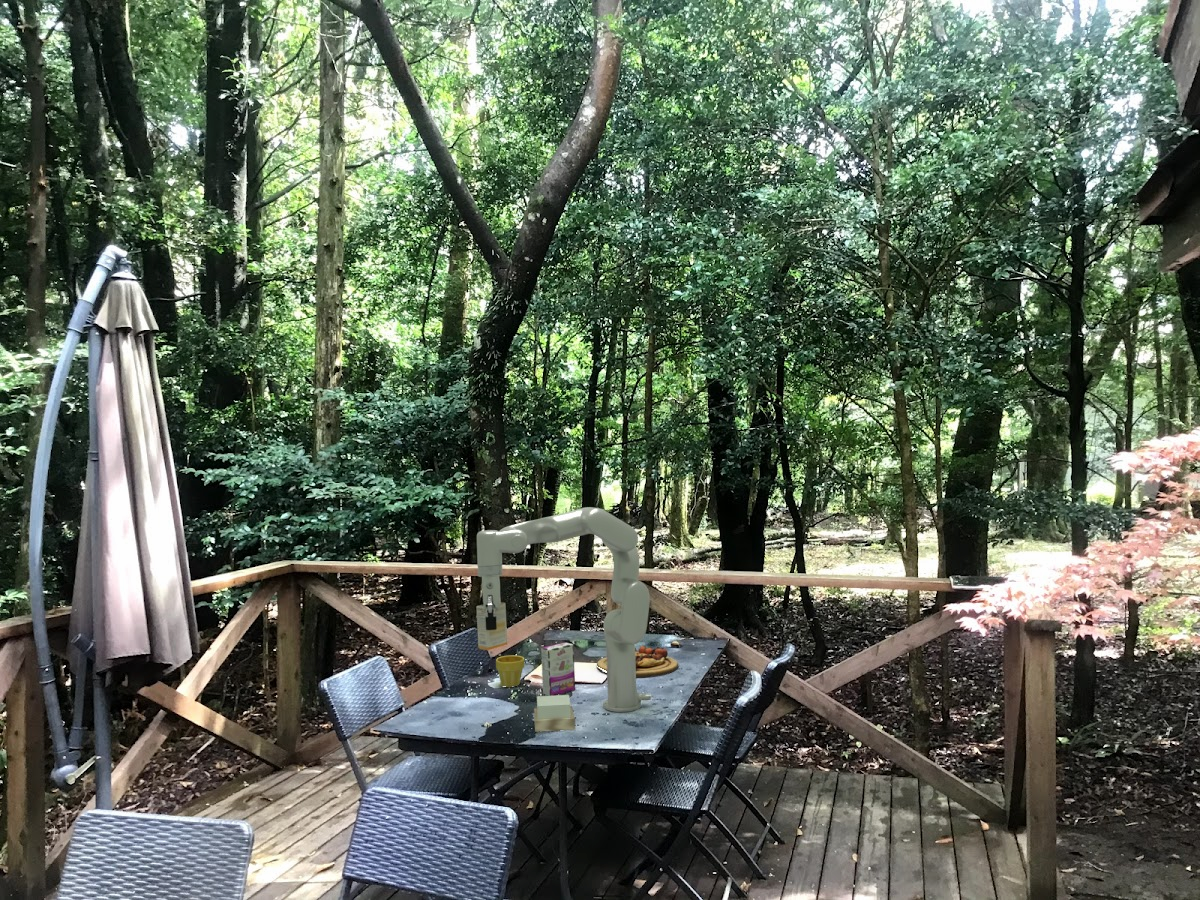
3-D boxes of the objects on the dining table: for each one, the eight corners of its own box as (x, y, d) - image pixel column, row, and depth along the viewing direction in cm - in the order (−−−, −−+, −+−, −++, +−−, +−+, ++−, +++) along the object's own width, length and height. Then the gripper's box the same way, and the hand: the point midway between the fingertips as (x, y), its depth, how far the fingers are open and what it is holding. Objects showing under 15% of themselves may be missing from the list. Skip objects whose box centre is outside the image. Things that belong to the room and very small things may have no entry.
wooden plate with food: (655, 683, 283) (655, 660, 283) (581, 672, 299) (581, 650, 299) (691, 664, 310) (691, 643, 310) (621, 655, 326) (621, 635, 327)
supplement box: (497, 643, 243) (495, 601, 244) (507, 644, 240) (506, 602, 241) (477, 648, 237) (475, 605, 237) (488, 650, 234) (486, 607, 234)
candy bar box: (567, 687, 279) (566, 641, 279) (575, 690, 275) (574, 644, 275) (541, 694, 271) (540, 647, 272) (550, 697, 268) (548, 649, 268)
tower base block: (572, 718, 246) (571, 706, 246) (575, 731, 234) (574, 718, 234) (534, 721, 244) (534, 708, 244) (535, 734, 232) (534, 720, 233)
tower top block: (569, 707, 244) (568, 694, 245) (570, 717, 234) (570, 704, 235) (537, 709, 244) (537, 696, 244) (537, 719, 234) (537, 706, 234)
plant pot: (528, 687, 280) (527, 660, 281) (500, 691, 277) (499, 663, 277) (520, 680, 290) (519, 653, 290) (493, 683, 286) (492, 657, 286)
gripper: (501, 574, 231) (503, 632, 230) (503, 566, 248) (504, 620, 248) (476, 575, 230) (477, 633, 230) (479, 567, 247) (481, 621, 247)
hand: (491, 626), depth 239 cm, fingers closed on supplement box, 9 cm apart
